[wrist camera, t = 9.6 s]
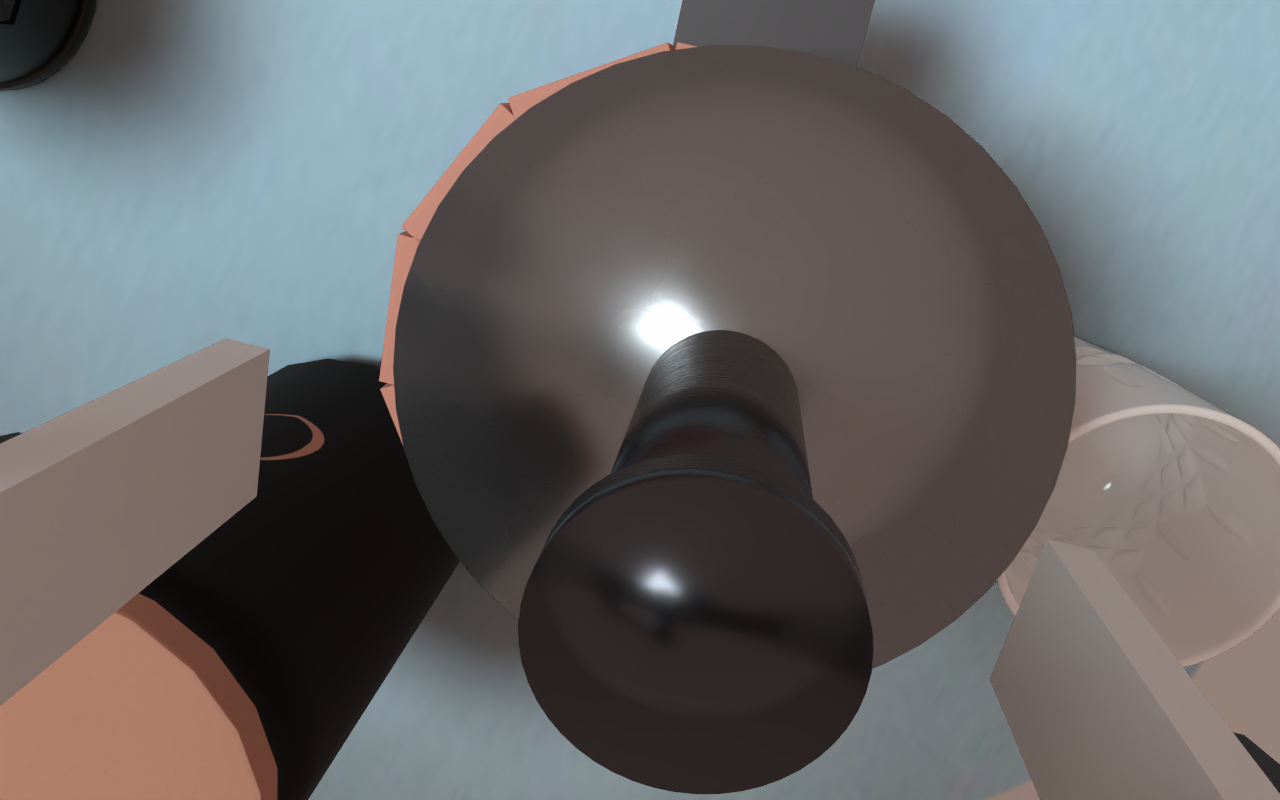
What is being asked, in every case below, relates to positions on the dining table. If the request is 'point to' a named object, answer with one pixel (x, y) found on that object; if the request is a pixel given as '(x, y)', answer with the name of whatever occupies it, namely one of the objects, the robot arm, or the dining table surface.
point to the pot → (710, 15)
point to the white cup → (1165, 506)
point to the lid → (731, 397)
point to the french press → (41, 39)
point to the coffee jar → (249, 623)
